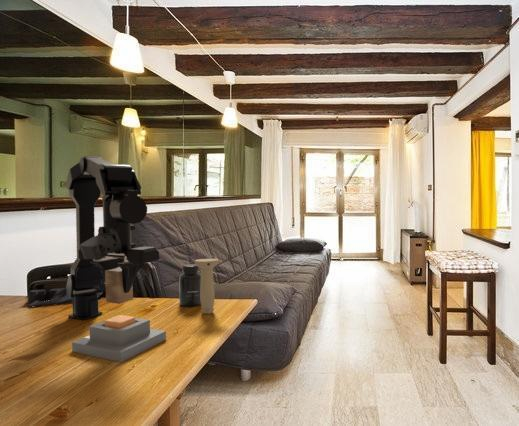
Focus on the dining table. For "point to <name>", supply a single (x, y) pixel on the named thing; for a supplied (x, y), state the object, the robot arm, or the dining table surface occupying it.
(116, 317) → the button
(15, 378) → the dining table surface
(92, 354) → the grey stepped square base
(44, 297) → the dark slate chunk
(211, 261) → the handle
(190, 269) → the supplement bottle
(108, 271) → the beige rectangular prism
